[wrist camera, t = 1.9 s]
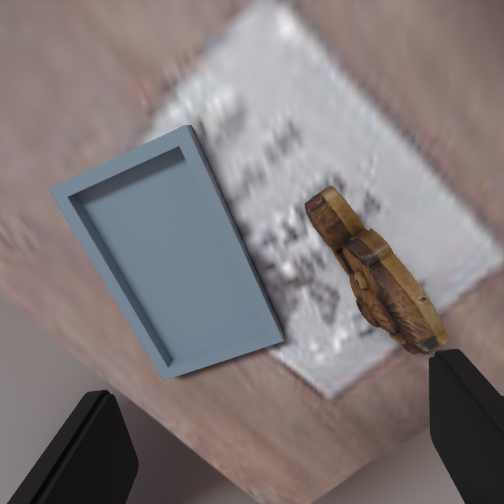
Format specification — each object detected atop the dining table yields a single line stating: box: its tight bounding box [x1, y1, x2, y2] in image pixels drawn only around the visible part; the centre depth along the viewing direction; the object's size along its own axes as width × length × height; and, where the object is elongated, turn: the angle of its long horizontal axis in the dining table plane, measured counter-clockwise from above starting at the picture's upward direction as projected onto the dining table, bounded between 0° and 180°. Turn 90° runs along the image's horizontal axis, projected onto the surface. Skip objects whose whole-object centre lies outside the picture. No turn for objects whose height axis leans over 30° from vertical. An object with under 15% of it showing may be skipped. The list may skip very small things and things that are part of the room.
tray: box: [48, 125, 283, 381], centre depth 32 cm, size 13×21×2 cm, turn 23°
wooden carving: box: [305, 186, 450, 354], centre depth 27 cm, size 16×5×10 cm, turn 42°
